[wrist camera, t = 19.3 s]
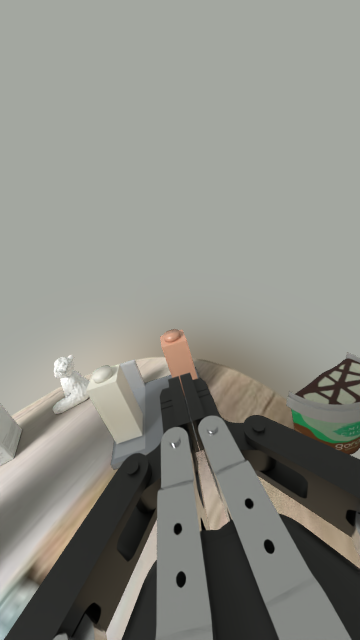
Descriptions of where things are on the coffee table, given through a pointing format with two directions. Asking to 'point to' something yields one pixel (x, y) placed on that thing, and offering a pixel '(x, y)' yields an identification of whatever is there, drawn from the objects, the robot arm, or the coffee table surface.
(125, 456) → the grey holder stand
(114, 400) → the cream plug
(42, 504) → the coffee table surface
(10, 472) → the coffee table surface
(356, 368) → the food container
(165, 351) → the terracotta plug
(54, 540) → the coffee table surface
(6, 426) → the skincare box
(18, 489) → the coffee table surface
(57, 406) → the sitting furry creature
